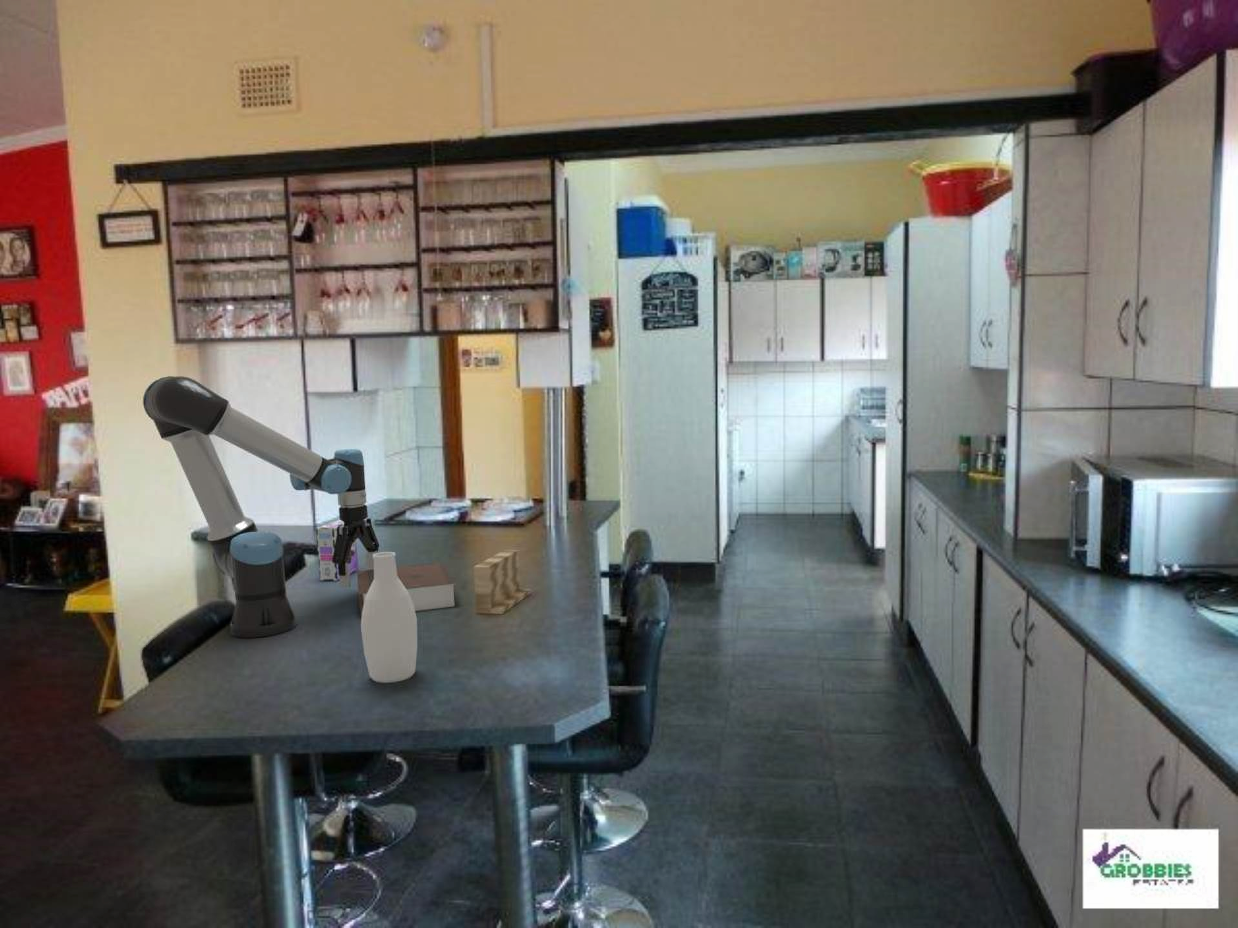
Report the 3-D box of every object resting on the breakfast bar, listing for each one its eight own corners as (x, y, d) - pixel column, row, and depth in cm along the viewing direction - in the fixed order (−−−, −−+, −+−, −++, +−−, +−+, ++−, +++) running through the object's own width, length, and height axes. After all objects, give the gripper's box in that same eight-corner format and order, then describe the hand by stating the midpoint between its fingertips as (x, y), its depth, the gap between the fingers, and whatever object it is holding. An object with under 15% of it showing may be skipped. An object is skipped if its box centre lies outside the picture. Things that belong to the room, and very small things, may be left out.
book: (360, 619, 227) (358, 594, 227) (358, 593, 254) (356, 570, 253) (457, 608, 234) (455, 583, 234) (445, 583, 261) (443, 561, 260)
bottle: (425, 664, 189) (417, 547, 186) (414, 683, 178) (406, 558, 175) (372, 667, 189) (363, 549, 186) (358, 686, 178) (348, 561, 175)
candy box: (337, 581, 268) (332, 527, 266) (319, 581, 269) (314, 527, 267) (359, 570, 281) (355, 519, 279) (342, 570, 282) (338, 519, 280)
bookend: (501, 614, 225) (499, 567, 224) (475, 613, 227) (472, 566, 226) (530, 593, 244) (528, 550, 243) (506, 592, 246) (503, 549, 245)
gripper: (339, 513, 234) (345, 592, 236) (387, 498, 258) (393, 569, 260) (314, 513, 236) (321, 591, 238) (364, 498, 260) (370, 569, 262)
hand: (358, 580), depth 249 cm, fingers open, 13 cm apart
